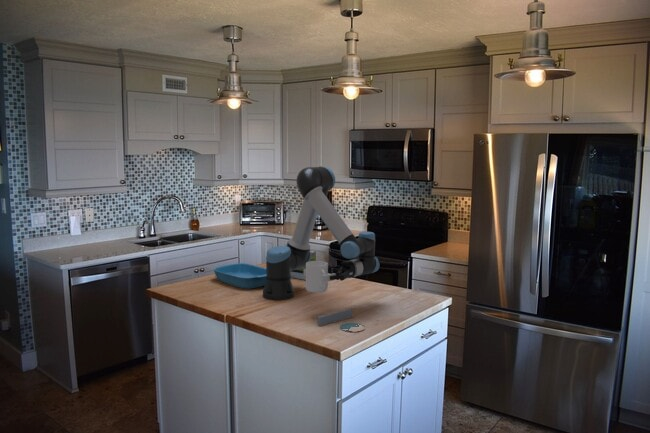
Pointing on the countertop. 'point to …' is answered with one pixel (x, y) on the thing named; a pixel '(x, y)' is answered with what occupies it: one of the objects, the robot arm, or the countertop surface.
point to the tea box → (300, 272)
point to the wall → (334, 317)
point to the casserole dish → (241, 275)
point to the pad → (349, 325)
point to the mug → (316, 276)
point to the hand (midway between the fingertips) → (313, 275)
